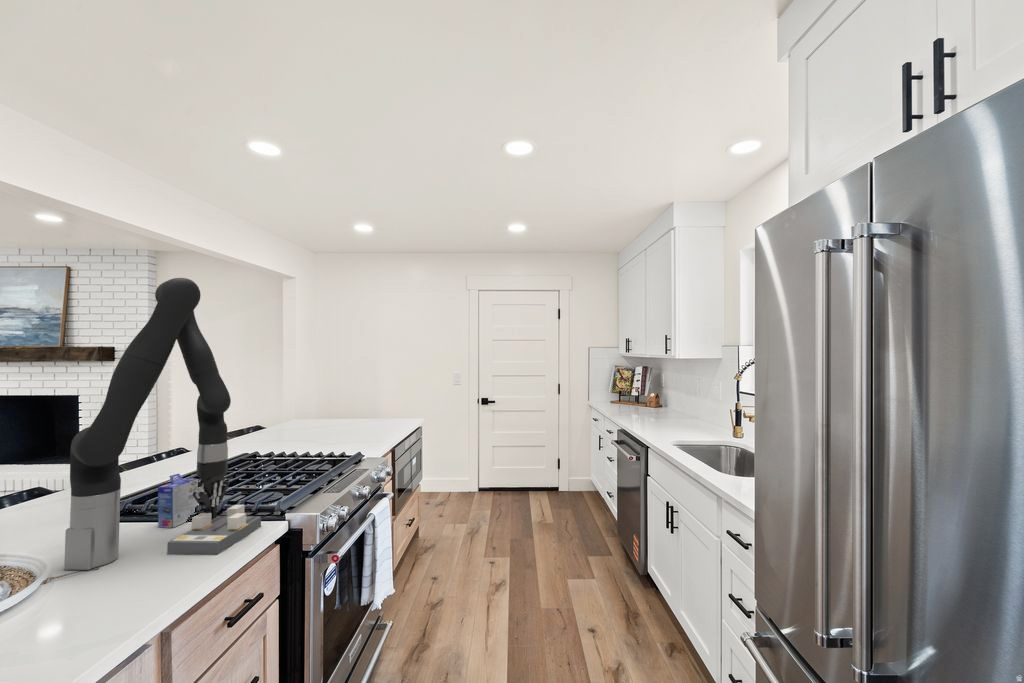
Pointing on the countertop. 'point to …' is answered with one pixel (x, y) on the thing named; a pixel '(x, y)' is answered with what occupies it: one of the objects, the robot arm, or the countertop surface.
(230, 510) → the middle tab
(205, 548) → the switch board
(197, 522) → the tab
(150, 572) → the countertop surface
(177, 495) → the ink cartridge box
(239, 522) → the tab
